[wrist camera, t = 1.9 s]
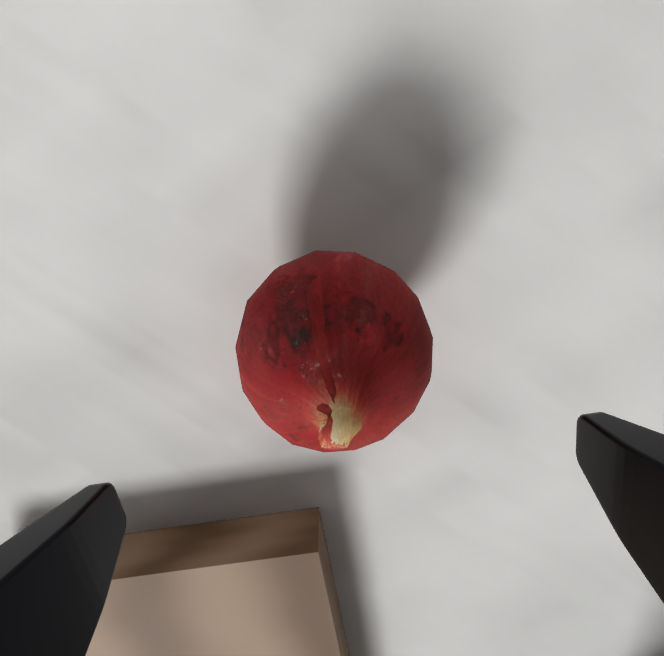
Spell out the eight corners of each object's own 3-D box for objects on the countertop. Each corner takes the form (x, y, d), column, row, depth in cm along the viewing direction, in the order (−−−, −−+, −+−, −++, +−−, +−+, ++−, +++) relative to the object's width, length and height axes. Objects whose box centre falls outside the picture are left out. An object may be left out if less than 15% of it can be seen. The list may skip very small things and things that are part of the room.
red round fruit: (226, 272, 17) (151, 367, 10) (372, 205, 16) (415, 251, 9) (296, 401, 19) (280, 563, 12) (431, 345, 18) (505, 480, 11)
